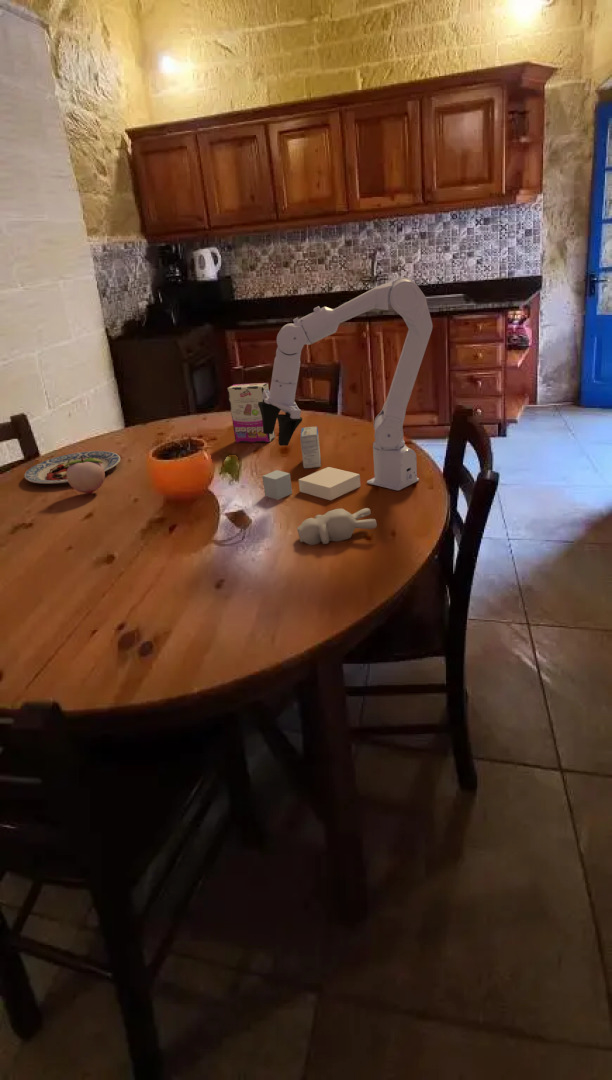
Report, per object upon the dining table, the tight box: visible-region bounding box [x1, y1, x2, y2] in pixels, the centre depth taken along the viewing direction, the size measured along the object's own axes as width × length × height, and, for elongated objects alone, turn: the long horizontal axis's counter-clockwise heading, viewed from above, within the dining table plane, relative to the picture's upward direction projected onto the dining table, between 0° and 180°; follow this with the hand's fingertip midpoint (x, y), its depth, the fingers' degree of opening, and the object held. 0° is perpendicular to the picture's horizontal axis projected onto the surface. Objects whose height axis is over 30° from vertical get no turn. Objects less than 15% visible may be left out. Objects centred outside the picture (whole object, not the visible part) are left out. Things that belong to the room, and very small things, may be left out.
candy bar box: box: [227, 382, 276, 444], centre depth 191 cm, size 11×5×16 cm, turn 73°
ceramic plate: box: [24, 450, 121, 485], centre depth 183 cm, size 26×26×3 cm
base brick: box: [298, 466, 361, 501], centre depth 152 cm, size 10×10×3 cm
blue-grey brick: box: [262, 469, 293, 501], centre depth 152 cm, size 4×4×5 cm
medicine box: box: [300, 426, 322, 469], centre depth 169 cm, size 8×4×9 cm, turn 179°
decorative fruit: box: [64, 456, 106, 495], centre depth 164 cm, size 9×8×10 cm
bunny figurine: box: [296, 507, 378, 546], centre depth 128 cm, size 10×5×15 cm
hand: (275, 439), depth 151 cm, fingers open, 7 cm apart
